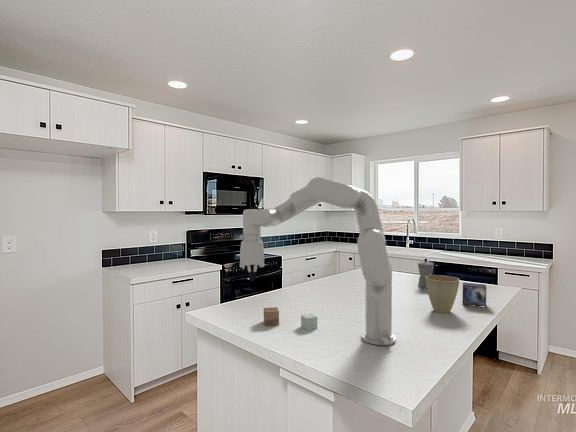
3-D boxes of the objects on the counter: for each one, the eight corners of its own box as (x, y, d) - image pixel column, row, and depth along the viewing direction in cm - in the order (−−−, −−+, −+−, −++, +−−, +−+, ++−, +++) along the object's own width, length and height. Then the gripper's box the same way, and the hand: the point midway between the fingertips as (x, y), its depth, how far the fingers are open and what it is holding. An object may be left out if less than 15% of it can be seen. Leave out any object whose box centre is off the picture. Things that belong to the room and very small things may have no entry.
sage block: (317, 328, 138) (317, 316, 137) (306, 330, 136) (306, 318, 135) (311, 325, 142) (311, 313, 142) (301, 326, 140) (301, 315, 140)
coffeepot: (424, 290, 201) (424, 260, 201) (412, 286, 209) (412, 258, 209) (441, 287, 208) (441, 258, 208) (429, 284, 216) (429, 256, 216)
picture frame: (462, 305, 169) (462, 284, 169) (462, 302, 175) (462, 282, 175) (486, 308, 164) (486, 287, 164) (485, 304, 170) (485, 284, 170)
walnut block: (279, 325, 142) (278, 311, 142) (265, 326, 141) (264, 311, 141) (277, 320, 148) (277, 307, 148) (263, 321, 147) (263, 307, 147)
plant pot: (448, 317, 150) (448, 282, 149) (419, 309, 162) (419, 277, 162) (465, 312, 158) (466, 278, 157) (436, 304, 170) (436, 273, 170)
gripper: (234, 239, 137) (234, 283, 138) (270, 238, 140) (270, 281, 140) (234, 237, 145) (234, 279, 145) (268, 237, 147) (268, 278, 148)
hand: (252, 280), depth 143 cm, fingers closed
